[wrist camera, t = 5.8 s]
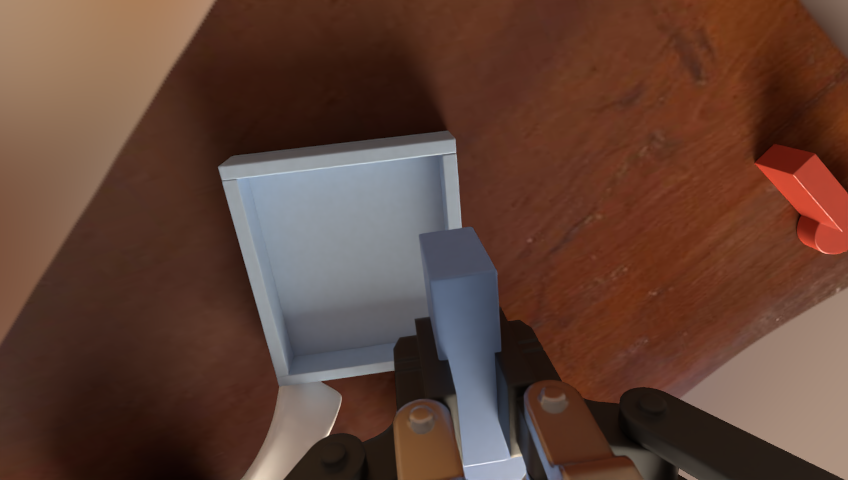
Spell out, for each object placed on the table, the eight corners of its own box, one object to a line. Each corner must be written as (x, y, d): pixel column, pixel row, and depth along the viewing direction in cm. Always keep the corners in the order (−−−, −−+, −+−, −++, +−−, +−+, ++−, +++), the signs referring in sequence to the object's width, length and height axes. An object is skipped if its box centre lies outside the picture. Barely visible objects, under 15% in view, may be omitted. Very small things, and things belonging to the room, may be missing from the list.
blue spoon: (380, 238, 13) (381, 286, 10) (509, 220, 13) (544, 263, 11) (418, 476, 17) (426, 559, 14) (519, 459, 17) (548, 538, 14)
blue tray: (231, 155, 26) (217, 166, 24) (448, 130, 27) (455, 138, 25) (286, 362, 32) (279, 387, 30) (464, 337, 33) (471, 359, 30)
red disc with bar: (740, 175, 30) (777, 188, 27) (788, 129, 29) (831, 138, 26) (813, 255, 33) (854, 274, 30) (859, 215, 32) (905, 231, 29)
